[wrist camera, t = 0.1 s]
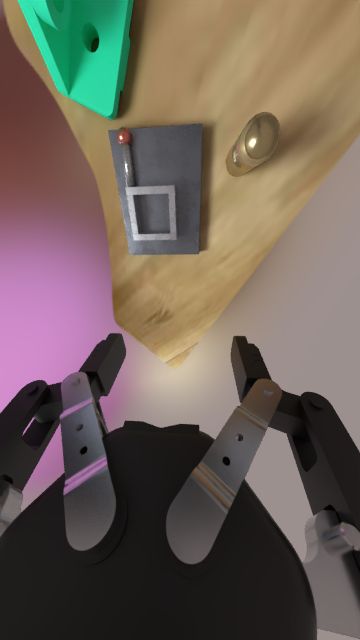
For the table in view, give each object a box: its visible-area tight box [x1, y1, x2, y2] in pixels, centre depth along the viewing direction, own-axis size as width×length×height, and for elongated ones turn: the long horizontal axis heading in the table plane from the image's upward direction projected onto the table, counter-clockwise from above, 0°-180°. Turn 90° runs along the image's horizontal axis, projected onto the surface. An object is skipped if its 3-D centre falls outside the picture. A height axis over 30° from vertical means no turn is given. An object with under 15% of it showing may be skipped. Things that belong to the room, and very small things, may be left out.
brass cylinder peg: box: [226, 112, 280, 177], centre depth 24 cm, size 4×4×13 cm
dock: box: [108, 124, 202, 255], centre depth 31 cm, size 18×14×4 cm
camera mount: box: [18, 0, 134, 120], centre depth 20 cm, size 12×8×10 cm, turn 157°
